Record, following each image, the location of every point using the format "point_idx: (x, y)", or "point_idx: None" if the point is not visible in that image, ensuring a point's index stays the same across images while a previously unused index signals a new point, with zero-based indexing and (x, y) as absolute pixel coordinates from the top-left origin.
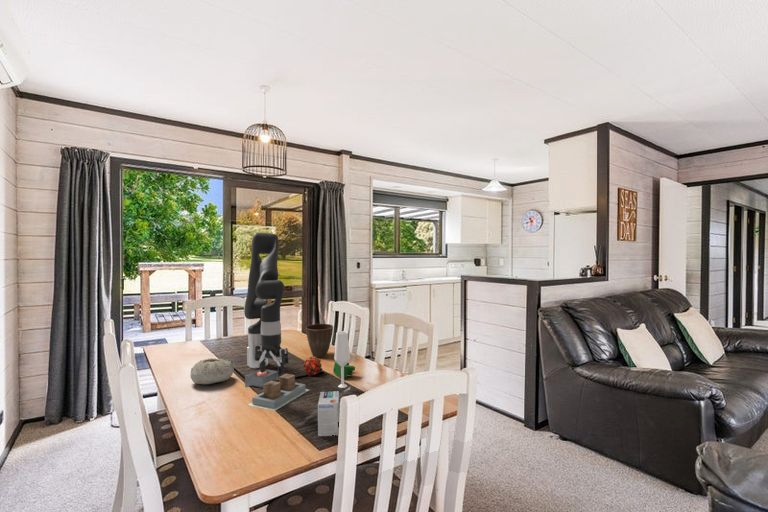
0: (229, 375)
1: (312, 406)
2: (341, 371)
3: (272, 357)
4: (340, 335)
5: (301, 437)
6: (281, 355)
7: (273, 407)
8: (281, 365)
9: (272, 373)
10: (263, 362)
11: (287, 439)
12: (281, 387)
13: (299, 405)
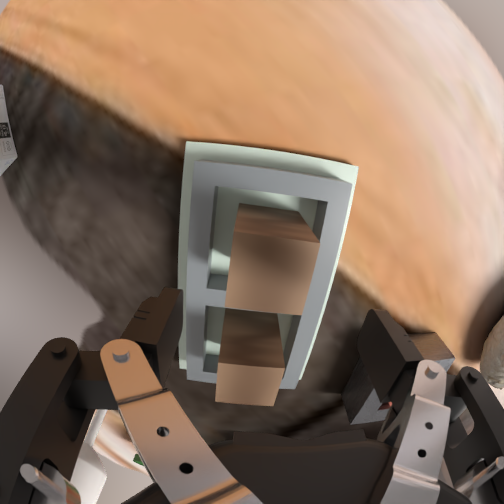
0: (488, 347)
1: (90, 254)
2: (92, 429)
3: (237, 454)
4: None
5: (30, 52)
6: (27, 444)
7: (205, 159)
8: (108, 353)
9: (365, 407)
10: (395, 387)
11: (58, 22)
12: (265, 330)
13: (137, 249)
